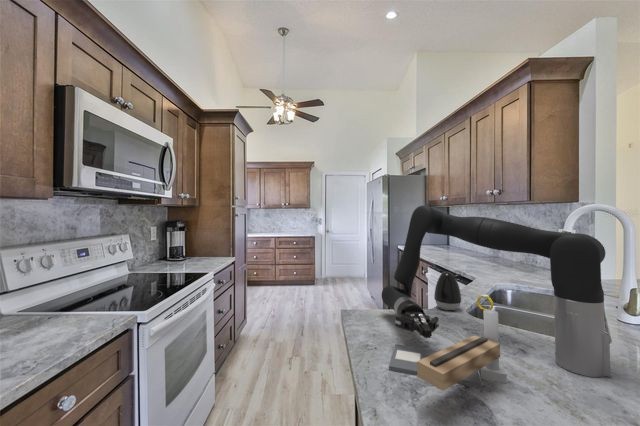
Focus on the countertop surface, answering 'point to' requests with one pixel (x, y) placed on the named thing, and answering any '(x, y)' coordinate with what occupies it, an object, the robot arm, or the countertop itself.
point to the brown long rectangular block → (457, 361)
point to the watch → (488, 299)
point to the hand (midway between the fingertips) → (427, 334)
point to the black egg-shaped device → (447, 291)
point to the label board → (408, 356)
